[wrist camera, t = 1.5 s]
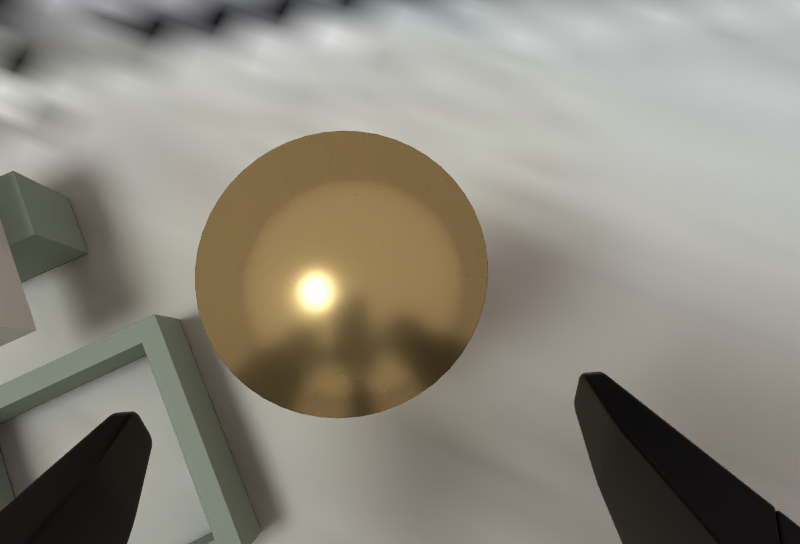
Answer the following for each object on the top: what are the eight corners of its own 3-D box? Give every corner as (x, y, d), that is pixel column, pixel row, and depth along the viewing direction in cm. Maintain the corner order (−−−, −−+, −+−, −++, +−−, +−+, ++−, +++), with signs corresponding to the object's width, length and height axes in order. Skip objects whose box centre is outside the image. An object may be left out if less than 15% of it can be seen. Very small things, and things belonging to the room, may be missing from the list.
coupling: (460, 333, 20) (549, 287, 8) (367, 409, 19) (311, 485, 7) (387, 244, 20) (367, 80, 9) (295, 315, 20) (139, 244, 8)
